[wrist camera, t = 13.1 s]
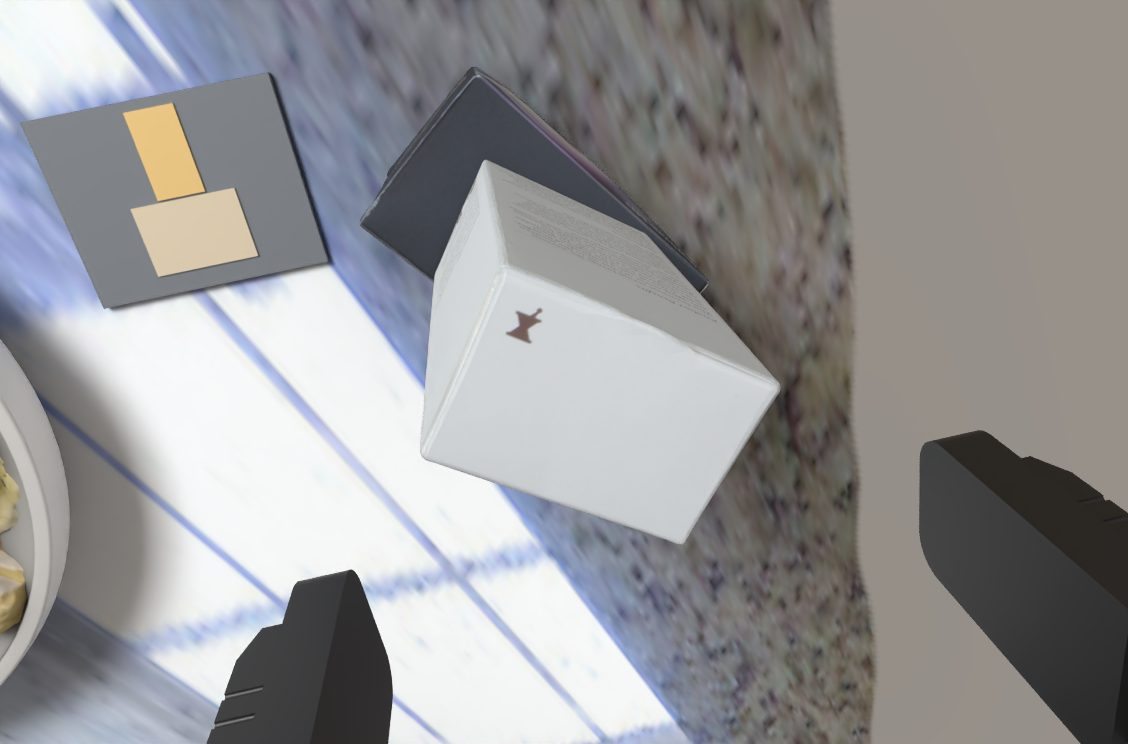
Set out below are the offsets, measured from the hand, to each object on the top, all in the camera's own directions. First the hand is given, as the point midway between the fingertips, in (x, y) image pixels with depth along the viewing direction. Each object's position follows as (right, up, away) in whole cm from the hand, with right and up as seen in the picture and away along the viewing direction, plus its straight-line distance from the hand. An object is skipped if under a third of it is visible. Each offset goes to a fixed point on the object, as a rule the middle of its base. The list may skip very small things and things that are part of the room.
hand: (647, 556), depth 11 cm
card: (-17, +10, +22) cm, 30 cm away
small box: (-3, +10, +24) cm, 27 cm away
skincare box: (-2, +6, +15) cm, 16 cm away
